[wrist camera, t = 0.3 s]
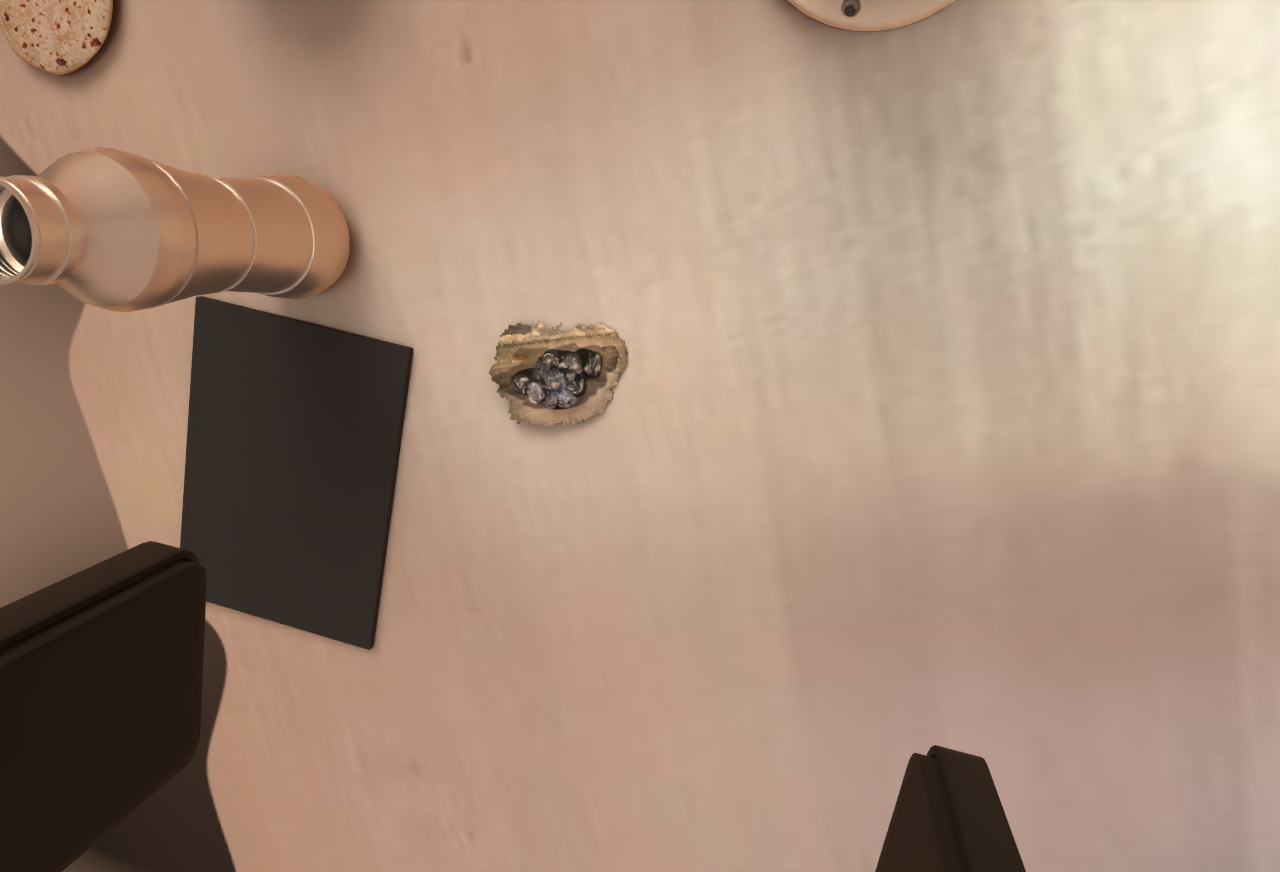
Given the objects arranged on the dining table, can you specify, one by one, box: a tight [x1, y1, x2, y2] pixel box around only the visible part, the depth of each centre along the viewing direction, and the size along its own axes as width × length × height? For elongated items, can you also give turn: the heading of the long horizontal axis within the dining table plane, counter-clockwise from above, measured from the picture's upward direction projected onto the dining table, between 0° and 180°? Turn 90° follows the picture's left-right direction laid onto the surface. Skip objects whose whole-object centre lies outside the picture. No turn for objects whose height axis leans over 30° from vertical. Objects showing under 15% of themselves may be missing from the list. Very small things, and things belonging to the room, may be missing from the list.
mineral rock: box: [489, 321, 628, 426], centre depth 46 cm, size 7×8×2 cm
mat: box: [180, 296, 413, 650], centre depth 52 cm, size 20×14×1 cm
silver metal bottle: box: [0, 148, 350, 312], centre depth 38 cm, size 6×7×20 cm
